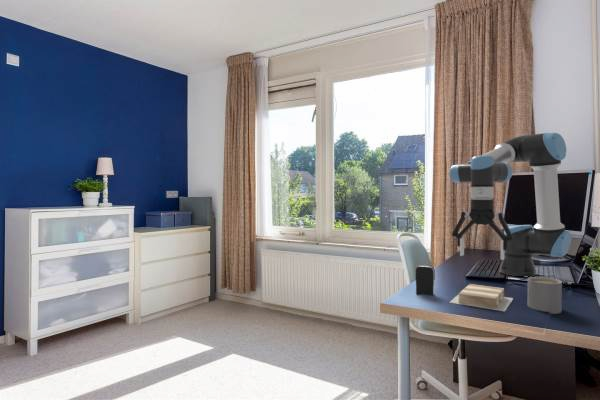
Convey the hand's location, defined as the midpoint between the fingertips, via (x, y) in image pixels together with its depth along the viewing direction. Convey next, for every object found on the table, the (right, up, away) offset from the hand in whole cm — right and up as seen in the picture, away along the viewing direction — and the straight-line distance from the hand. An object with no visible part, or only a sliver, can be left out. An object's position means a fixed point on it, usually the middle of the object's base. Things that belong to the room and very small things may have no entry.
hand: (481, 257), depth 142 cm
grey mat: (0, -16, +1) cm, 16 cm away
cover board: (0, -16, +1) cm, 16 cm away
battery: (-17, -17, +11) cm, 26 cm away
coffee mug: (+18, -17, -7) cm, 26 cm away
